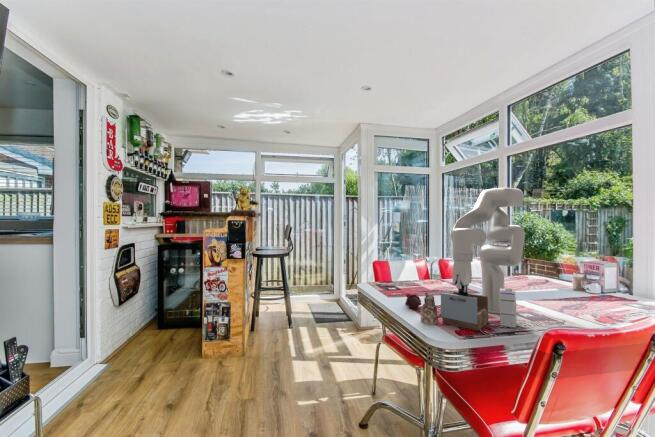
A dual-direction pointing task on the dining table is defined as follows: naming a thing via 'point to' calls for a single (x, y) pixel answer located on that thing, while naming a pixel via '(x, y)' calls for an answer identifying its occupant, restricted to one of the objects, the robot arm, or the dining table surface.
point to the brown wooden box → (481, 314)
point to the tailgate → (459, 308)
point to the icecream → (413, 301)
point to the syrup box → (507, 307)
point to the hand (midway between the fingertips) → (463, 301)
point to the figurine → (429, 310)
